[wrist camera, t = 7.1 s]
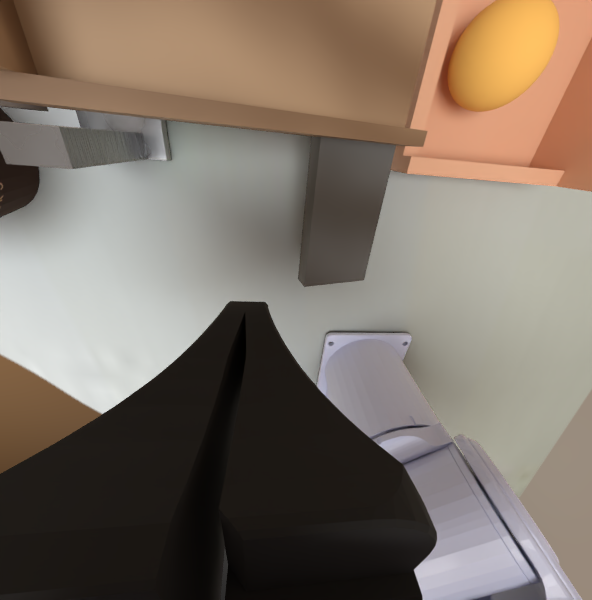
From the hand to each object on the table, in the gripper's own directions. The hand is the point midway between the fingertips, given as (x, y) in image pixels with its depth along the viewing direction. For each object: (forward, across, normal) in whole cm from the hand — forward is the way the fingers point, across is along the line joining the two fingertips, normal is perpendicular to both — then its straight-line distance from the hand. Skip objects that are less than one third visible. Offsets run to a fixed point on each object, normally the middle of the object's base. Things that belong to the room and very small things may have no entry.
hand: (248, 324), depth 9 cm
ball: (+7, -11, -10) cm, 17 cm away
